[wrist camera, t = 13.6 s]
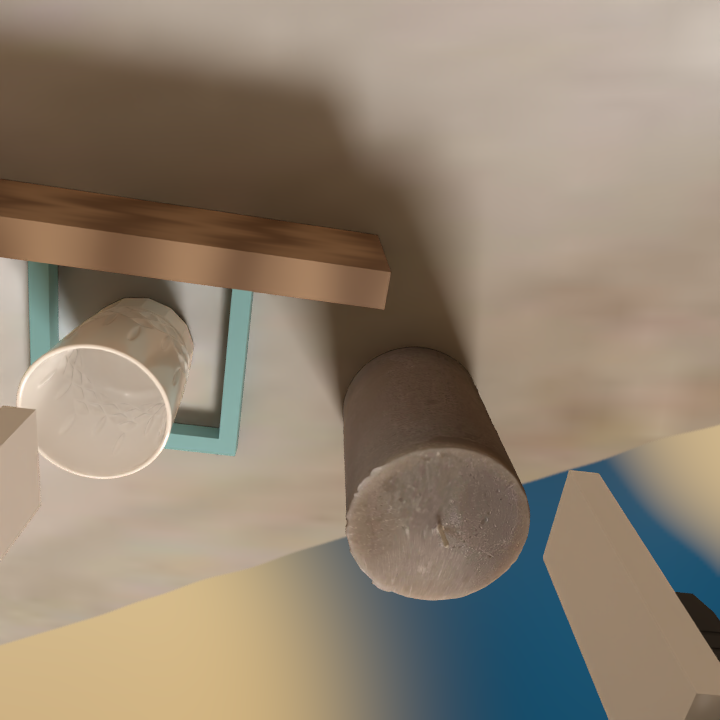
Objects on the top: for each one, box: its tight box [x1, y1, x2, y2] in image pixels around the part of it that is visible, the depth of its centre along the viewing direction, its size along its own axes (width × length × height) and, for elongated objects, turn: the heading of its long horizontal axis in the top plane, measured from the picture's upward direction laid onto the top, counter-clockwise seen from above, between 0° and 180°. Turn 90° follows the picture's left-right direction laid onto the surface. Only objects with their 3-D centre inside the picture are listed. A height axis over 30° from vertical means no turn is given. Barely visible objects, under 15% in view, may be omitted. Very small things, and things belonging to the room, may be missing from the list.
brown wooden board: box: [0, 179, 391, 310], centre depth 37 cm, size 28×2×9 cm, turn 81°
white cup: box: [16, 298, 194, 479], centre depth 39 cm, size 8×8×10 cm
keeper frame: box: [28, 261, 253, 456], centre depth 43 cm, size 13×13×2 cm
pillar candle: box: [343, 347, 530, 600], centre depth 40 cm, size 10×10×15 cm
